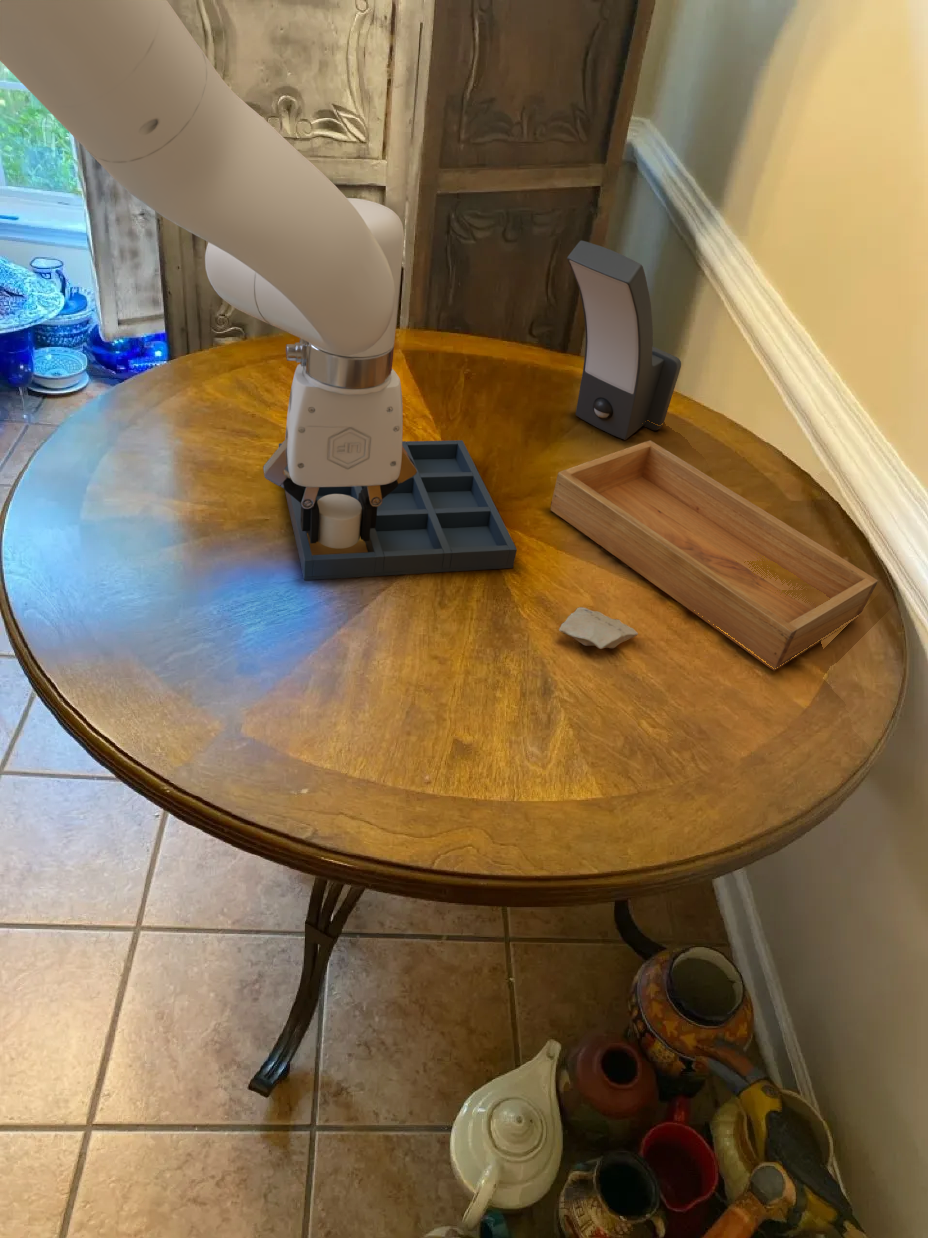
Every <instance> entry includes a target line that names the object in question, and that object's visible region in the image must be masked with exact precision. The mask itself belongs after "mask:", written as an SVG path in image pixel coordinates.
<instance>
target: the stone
mask: <svg viewBox="0 0 928 1238" xmlns="http://www.w3.org/2000/svg"><path fill="white" fill-rule="evenodd" d="M558 631H559V632H560V633H563V634H565V635H567V636H569V637H571V638H572V639H574V640H575V641H577V642H578V643H580V644H582V645H583V646H585V647H591V646H593V647H594V646H595V647H596V648H597V649H600V650H602V649H605V648H607V649H608V648H609V649H614V648H616V647H617V646H619V645H621V644H622V643H624V642H627V641H628V640H630V639H633V638H634V637H636V636H638V635H639V633H638V632H637V631H636V630H635V628H633V627H631V626H629V625H628V624H626V623H623V622H622V621H621V620H620V619H619V618H618V619H617V618H611V617H610V616H608V615H605V614H603V613H602V612H600V611H597V610H591V609H589V608H587V607H584V606H579V607H577V608H576V609H575V610H574V611H573V612H571V613H570V614H569V615H568V616H567V618H566V620H564V621H563V622H562V623H561V624H560V627H559V628H558Z"/></svg>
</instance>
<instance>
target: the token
mask: <svg viewBox="0 0 928 1238" xmlns="http://www.w3.org/2000/svg"><path fill="white" fill-rule="evenodd" d="M317 503H318V507H319V532H318V542H320V543H321V544H322V545H324V546H327V547H330V548H337V549H342V548H348V547H351V546H353V545H355V544H356V543H357V542H358V541H359V539H360V530H361V518H362V507H361V504H360V502H359V501H358V500H356V499H355V498H353V497H351V496H348V495H343V494H330V495H326V496H324V497H322V498H320V499H319V500H318V501H317Z"/></svg>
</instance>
